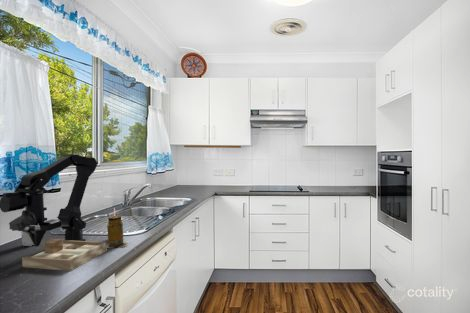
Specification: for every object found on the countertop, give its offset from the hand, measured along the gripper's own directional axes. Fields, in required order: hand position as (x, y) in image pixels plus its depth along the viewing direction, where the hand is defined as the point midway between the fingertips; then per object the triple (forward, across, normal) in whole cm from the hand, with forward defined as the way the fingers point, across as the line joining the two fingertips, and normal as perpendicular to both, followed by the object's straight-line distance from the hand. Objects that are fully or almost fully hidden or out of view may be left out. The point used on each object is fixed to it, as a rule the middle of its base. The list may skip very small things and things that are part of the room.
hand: (36, 246), depth 104 cm
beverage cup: (+4, +17, +24) cm, 30 cm away
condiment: (+4, +24, +16) cm, 29 cm away
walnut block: (+2, +8, 0) cm, 8 cm away
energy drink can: (+4, -16, +11) cm, 20 cm away
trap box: (+4, +14, 0) cm, 15 cm away
